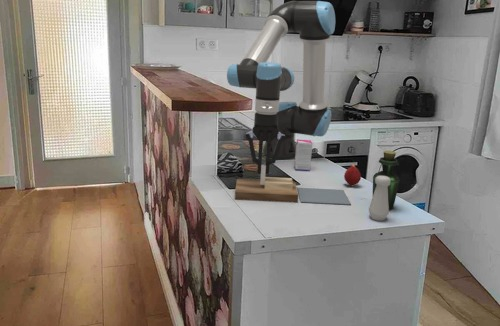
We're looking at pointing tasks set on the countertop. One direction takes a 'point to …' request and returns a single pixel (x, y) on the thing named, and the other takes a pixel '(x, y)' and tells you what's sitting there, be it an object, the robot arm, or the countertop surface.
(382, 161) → the potion bottle
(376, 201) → the salt shaker
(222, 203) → the countertop surface
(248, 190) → the board
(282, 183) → the beech block
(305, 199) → the slate mat
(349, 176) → the onion
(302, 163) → the supplement box
